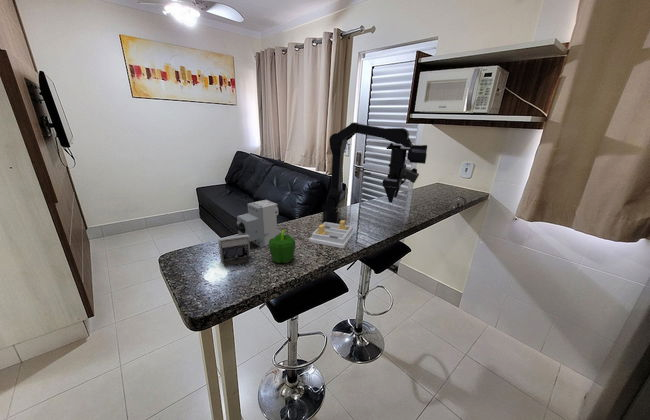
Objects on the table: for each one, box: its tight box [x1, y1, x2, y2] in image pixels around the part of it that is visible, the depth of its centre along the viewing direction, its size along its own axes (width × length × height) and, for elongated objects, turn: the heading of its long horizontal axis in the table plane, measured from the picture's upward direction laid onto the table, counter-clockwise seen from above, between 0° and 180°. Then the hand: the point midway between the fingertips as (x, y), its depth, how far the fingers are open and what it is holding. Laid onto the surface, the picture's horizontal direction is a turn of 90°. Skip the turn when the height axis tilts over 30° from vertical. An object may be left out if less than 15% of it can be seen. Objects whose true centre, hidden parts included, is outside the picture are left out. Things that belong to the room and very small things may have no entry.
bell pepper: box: [268, 229, 296, 264], centre depth 82 cm, size 8×8×10 cm
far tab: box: [338, 219, 348, 230], centre depth 103 cm, size 3×3×4 cm
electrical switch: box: [217, 235, 251, 266], centre depth 80 cm, size 9×5×9 cm, turn 113°
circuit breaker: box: [235, 199, 280, 248], centre depth 92 cm, size 8×14×15 cm, turn 135°
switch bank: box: [308, 222, 356, 249], centre depth 101 cm, size 14×16×3 cm
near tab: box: [317, 223, 326, 235], centre depth 98 cm, size 3×3×4 cm
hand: (393, 199), depth 104 cm, fingers open, 9 cm apart
